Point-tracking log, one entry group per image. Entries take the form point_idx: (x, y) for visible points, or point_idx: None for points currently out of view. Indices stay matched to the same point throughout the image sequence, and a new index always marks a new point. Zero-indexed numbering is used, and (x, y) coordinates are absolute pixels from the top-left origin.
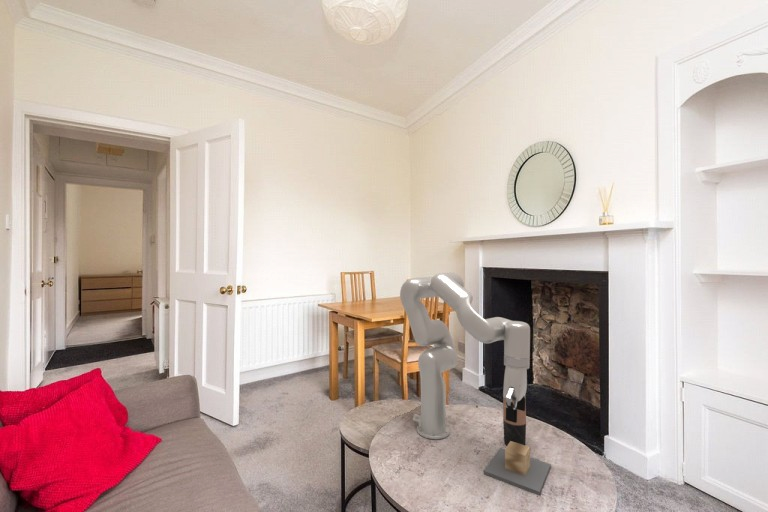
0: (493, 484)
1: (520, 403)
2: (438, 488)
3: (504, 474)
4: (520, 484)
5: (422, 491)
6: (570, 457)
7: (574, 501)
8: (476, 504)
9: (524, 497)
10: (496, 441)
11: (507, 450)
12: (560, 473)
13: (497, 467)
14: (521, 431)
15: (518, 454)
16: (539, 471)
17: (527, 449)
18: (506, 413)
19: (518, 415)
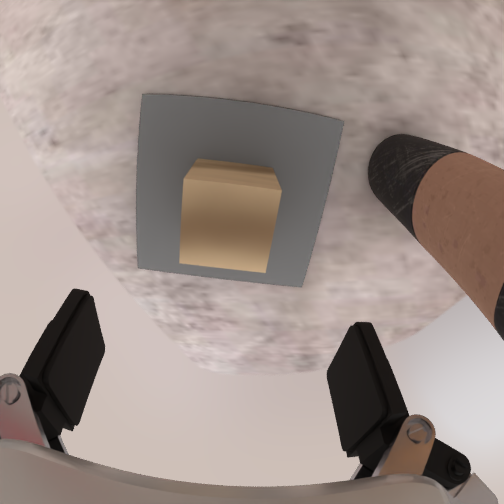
0: (110, 138)
1: (347, 400)
2: (28, 25)
3: (159, 163)
4: (136, 219)
5: (9, 9)
6: (371, 318)
7: (172, 326)
8: (20, 131)
9: (108, 229)
10: (400, 105)
11: (183, 189)
12: (279, 303)
13: (190, 131)
14: (404, 225)
15: (180, 236)
16: None
17: (237, 266)
18: (52, 328)
19: (439, 253)
